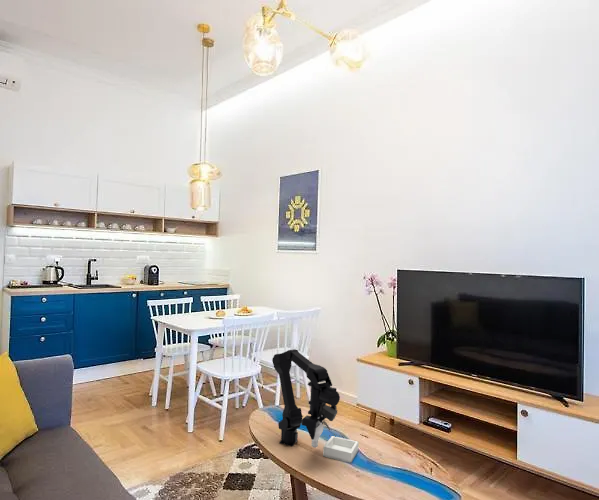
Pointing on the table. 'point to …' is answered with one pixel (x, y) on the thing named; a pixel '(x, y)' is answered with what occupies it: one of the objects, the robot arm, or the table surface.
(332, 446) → the tray
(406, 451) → the table surface
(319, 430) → the lightbulb
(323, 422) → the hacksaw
